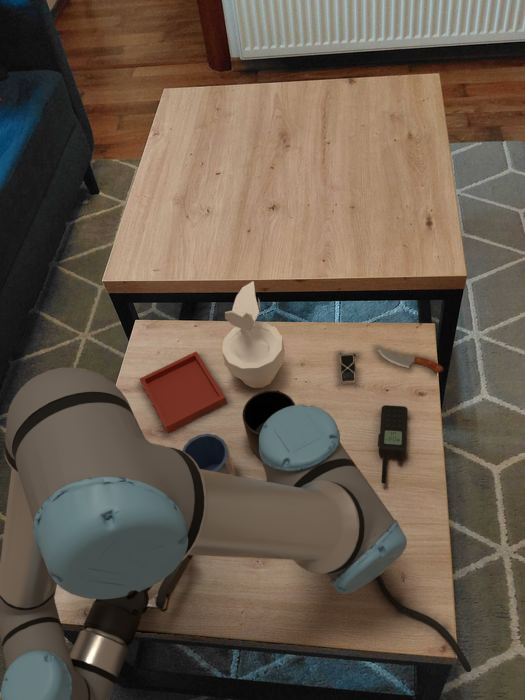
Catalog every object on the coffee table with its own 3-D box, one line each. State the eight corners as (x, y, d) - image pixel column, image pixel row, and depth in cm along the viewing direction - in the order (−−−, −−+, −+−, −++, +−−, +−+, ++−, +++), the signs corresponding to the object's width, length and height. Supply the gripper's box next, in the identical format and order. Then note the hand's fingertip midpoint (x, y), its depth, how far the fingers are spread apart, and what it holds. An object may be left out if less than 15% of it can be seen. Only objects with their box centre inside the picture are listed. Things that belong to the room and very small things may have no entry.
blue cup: (244, 489, 113) (235, 460, 105) (204, 511, 111) (192, 483, 104) (225, 456, 118) (215, 426, 110) (186, 476, 116) (173, 447, 108)
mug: (306, 409, 122) (302, 380, 115) (296, 465, 115) (292, 438, 108) (257, 405, 124) (250, 376, 117) (244, 460, 117) (237, 433, 110)
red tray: (227, 403, 125) (225, 397, 124) (167, 433, 123) (165, 427, 121) (198, 357, 133) (196, 351, 132) (142, 384, 131) (139, 378, 129)
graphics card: (340, 352, 129) (355, 351, 128) (340, 354, 129) (355, 353, 129) (341, 381, 124) (357, 380, 124) (341, 384, 125) (357, 383, 124)
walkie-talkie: (407, 406, 116) (405, 479, 106) (407, 417, 118) (404, 490, 109) (380, 404, 117) (375, 477, 107) (380, 415, 119) (375, 487, 110)
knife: (373, 358, 127) (378, 347, 129) (373, 360, 128) (378, 349, 129) (441, 374, 122) (445, 362, 124) (441, 376, 123) (445, 364, 124)
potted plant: (278, 405, 123) (261, 316, 104) (221, 393, 127) (195, 305, 108) (297, 354, 131) (285, 263, 112) (243, 344, 134) (222, 254, 115)
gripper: (54, 625, 100) (117, 493, 113) (177, 665, 94) (228, 520, 107) (35, 610, 94) (104, 472, 107) (164, 650, 88) (220, 500, 101)
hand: (166, 496), depth 107 cm, fingers closed on red cup, 8 cm apart
